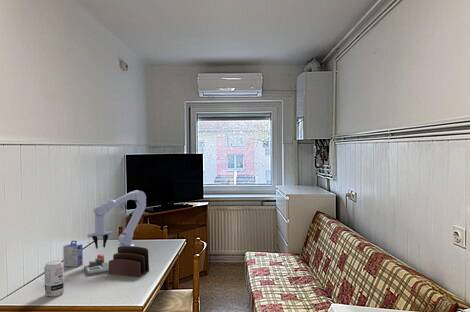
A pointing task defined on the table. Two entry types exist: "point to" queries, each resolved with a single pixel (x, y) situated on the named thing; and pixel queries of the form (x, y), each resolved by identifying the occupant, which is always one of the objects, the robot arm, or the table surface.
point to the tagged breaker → (92, 264)
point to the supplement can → (54, 278)
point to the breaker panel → (97, 269)
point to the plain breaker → (98, 261)
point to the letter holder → (130, 261)
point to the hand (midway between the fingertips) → (100, 247)
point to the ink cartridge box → (72, 255)
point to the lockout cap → (101, 257)
